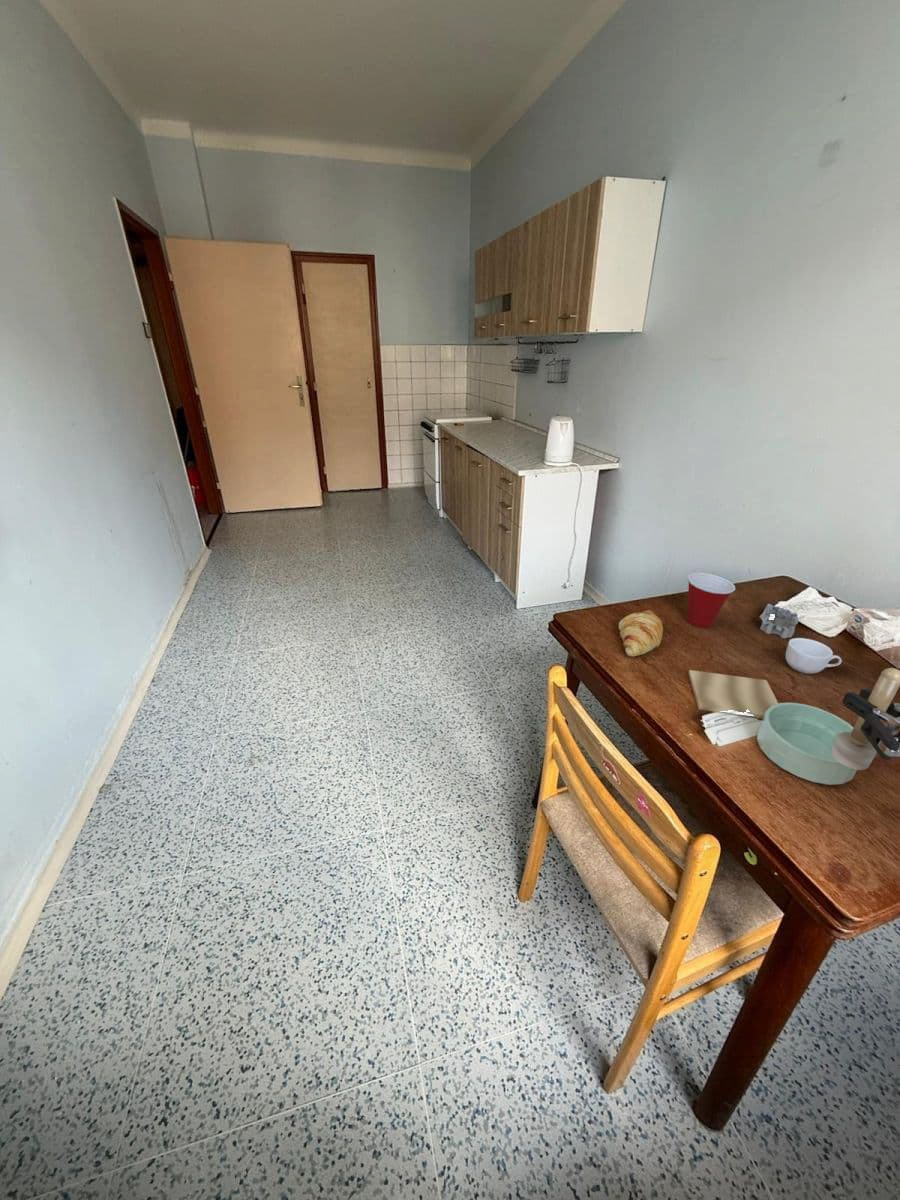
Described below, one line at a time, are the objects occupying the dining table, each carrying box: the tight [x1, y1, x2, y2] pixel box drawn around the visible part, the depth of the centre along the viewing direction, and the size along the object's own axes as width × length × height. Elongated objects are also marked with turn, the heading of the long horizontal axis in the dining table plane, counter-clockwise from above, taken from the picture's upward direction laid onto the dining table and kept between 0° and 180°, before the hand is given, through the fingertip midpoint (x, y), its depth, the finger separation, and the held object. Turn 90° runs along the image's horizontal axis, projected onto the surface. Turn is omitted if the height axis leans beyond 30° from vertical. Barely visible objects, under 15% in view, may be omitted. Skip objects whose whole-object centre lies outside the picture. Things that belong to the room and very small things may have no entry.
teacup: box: [785, 637, 842, 675], centre depth 102 cm, size 10×8×5 cm
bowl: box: [756, 702, 858, 786], centre depth 81 cm, size 14×14×6 cm
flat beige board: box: [688, 669, 779, 720], centre depth 96 cm, size 15×12×1 cm
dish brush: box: [830, 667, 900, 771], centre depth 66 cm, size 5×5×16 cm
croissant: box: [618, 609, 664, 658], centre depth 114 cm, size 21×10×8 cm, turn 150°
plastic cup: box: [686, 572, 736, 629], centre depth 119 cm, size 11×11×12 cm
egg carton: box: [759, 603, 800, 639], centre depth 118 cm, size 11×8×4 cm
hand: (854, 695), depth 68 cm, fingers closed on dish brush
